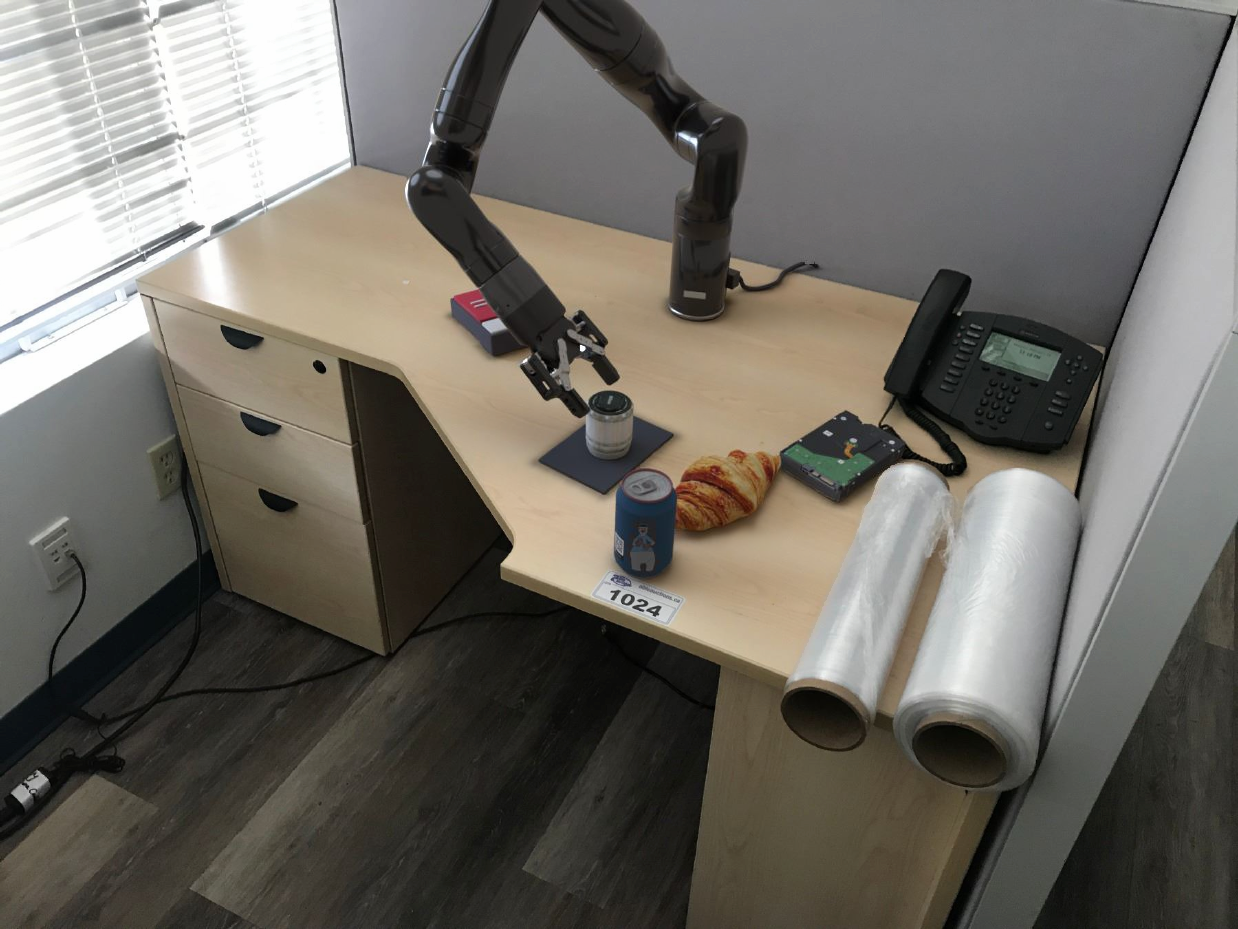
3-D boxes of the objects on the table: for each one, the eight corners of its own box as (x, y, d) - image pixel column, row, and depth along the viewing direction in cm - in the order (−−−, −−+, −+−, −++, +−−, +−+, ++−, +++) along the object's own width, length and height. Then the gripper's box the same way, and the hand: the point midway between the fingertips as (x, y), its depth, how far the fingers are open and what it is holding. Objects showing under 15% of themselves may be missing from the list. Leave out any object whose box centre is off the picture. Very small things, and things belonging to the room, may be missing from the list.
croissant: (757, 478, 135) (743, 424, 133) (813, 483, 127) (799, 425, 125) (645, 545, 124) (627, 487, 121) (700, 555, 116) (682, 493, 114)
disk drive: (840, 424, 140) (775, 467, 132) (844, 408, 139) (778, 450, 130) (903, 458, 135) (838, 505, 126) (907, 441, 133) (842, 488, 124)
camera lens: (582, 458, 132) (582, 410, 127) (589, 431, 137) (590, 383, 132) (628, 464, 131) (630, 415, 126) (634, 435, 136) (636, 388, 131)
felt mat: (610, 407, 142) (610, 404, 142) (673, 435, 137) (673, 433, 137) (538, 461, 132) (538, 459, 131) (604, 494, 127) (604, 492, 126)
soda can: (653, 535, 121) (658, 458, 113) (682, 571, 116) (690, 493, 109) (603, 552, 118) (605, 475, 111) (631, 590, 114) (635, 511, 106)
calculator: (509, 277, 163) (554, 313, 153) (511, 301, 166) (555, 338, 156) (448, 294, 159) (490, 332, 148) (451, 318, 161) (492, 356, 151)
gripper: (509, 311, 119) (593, 415, 122) (566, 263, 129) (642, 360, 132) (475, 338, 124) (556, 437, 127) (532, 289, 134) (606, 382, 137)
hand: (600, 398), depth 130 cm, fingers open, 8 cm apart
